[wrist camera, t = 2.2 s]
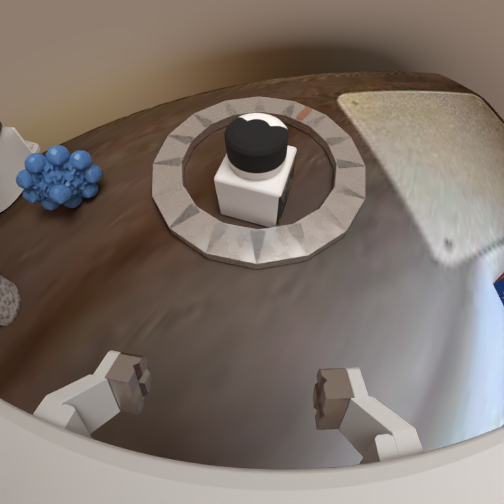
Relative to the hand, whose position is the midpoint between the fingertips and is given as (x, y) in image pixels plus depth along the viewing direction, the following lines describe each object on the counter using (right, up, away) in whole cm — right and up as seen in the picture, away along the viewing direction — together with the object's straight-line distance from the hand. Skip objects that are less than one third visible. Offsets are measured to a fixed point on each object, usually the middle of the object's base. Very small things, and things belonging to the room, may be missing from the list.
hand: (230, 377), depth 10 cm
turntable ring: (+2, +16, +28) cm, 33 cm away
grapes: (-24, +11, +27) cm, 38 cm away
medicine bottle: (+1, +11, +27) cm, 29 cm away
